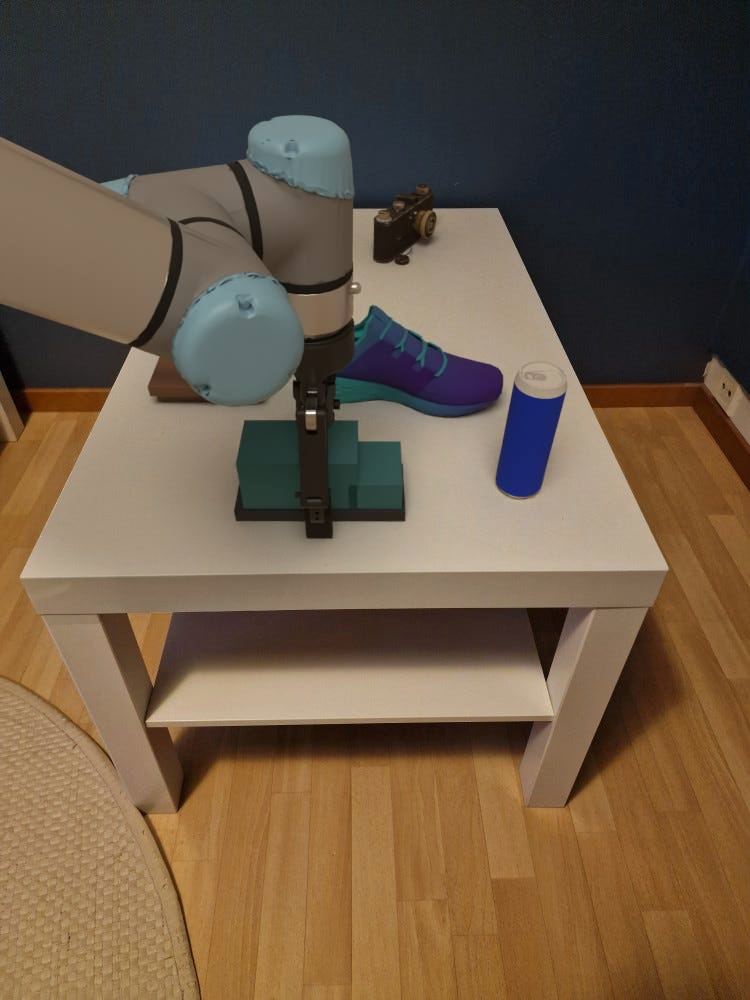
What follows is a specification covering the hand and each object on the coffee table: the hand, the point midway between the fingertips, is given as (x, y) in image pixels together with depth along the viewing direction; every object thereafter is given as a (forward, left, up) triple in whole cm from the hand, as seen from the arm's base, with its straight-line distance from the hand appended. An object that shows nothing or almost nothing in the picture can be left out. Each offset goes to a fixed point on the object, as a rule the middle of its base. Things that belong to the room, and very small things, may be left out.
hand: (322, 494), depth 76 cm
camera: (-20, +59, 0) cm, 62 cm away
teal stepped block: (0, 0, 0) cm, 0 cm away
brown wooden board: (-28, +18, 0) cm, 33 cm away
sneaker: (-2, +22, 0) cm, 22 cm away
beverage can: (+18, +13, 0) cm, 22 cm away
